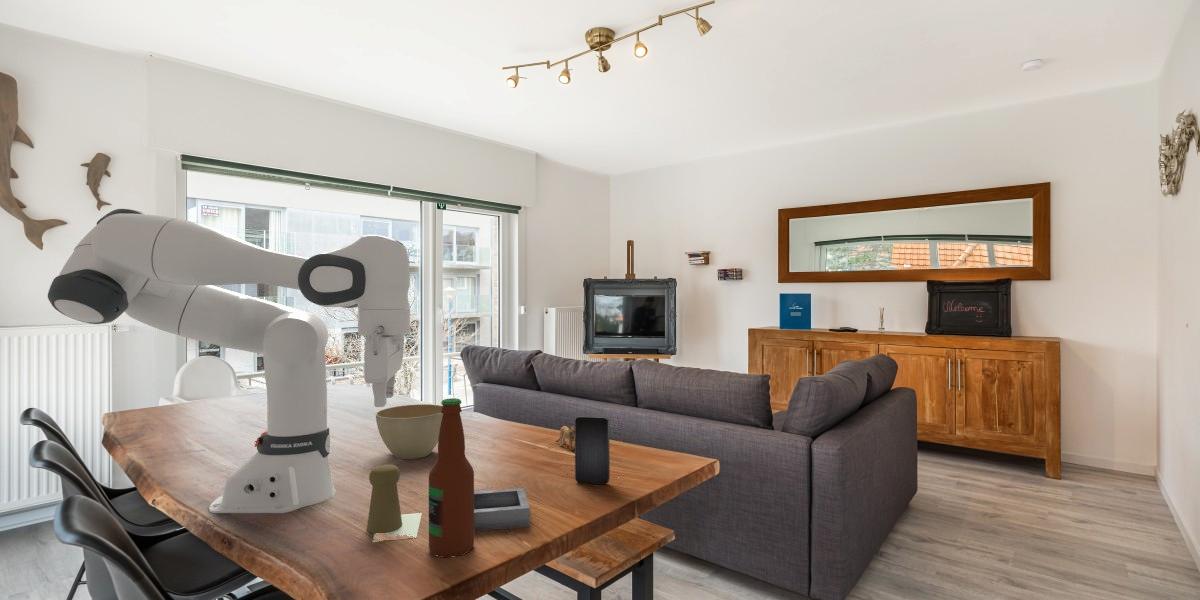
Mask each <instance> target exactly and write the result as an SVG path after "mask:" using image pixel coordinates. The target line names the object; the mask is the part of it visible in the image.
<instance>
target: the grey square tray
mask: <svg viewBox="0 0 1200 600" xmlns="http://www.w3.org/2000/svg"><path fill="white" fill-rule="evenodd" d="M530 511H531V510H530V505H529V501H528V497H527V494H526V490H525V488H524V487H518V488H517V487H515V488H505V489H504V488H503V489H492V490H491V489H489V490H477V491H474V532H479V531H490V530H491V531H492V530H505V529H506V530H507V529H515V528H530V525H531V524H530V523H531V522H530V521H531V517H530V515H531V514H530V513H531V512H530Z"/></svg>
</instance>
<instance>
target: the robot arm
mask: <svg viewBox="0 0 1200 600" xmlns="http://www.w3.org/2000/svg"><path fill="white" fill-rule="evenodd" d="M406 247H407V246H405V245H404V243H402V242H401V241H399V240H397V239H395V238H392V237H388V236H384V235H379V234H364V235H362V236H361V237H359V239H357V240H355V241H354V242H352V243H350V244H348V245H346V246H343V247H340V248H338V249H337V248H336V249H335V250H334V249H333V250H329V251H327V252H323V253H319V254H315V255H313V256H310V257H309V258H308V257H303V256H298V255H292V254H287V253H283V252H282V253H281V252H276V251H273V250H270V249H266V248H262V247H260V246H257V245H255V244H252V243H251V242H247V241H246V240H244V239H243V240H242V239H240V238H238V237H236V236H234V235H232V234H228V233H226V232H225V231H222V230H219V229H216V228H213V227H211V226H208V225H205V224H202V223H197V222H193V221H192V220H191V221H190V220H188V219H187V220H186V219H182V218H177V217H170V216H164V215H156V214H146V213H145V212H142V211H139V210H135V209H130V208H116V209H113V210H112V211H110V212H108V213H107V214H105V215H103V216H102V217H100V219H99V220H97V222H96V225H95V226H94V227H93V228H92V229H91V230H89V232H88V233H87V234H86V235H85V236H84V237H83V238H82V239H80V241H79V242H78V243H77V245H76V246H75V247H74V249H73V252H72V253H71V255H70V256H69V258H68V259H67V260H66V262H65V263H64V265H63V266H62V269H61V271H59V274H58V275H57V276H55V277H54V278H53V280H52V281H51V284H50V286H49V290H48V293H47V299H48V301H49V303H50V304H51V306H52V307H53V308H54V309H55V310H56V311H58V312H59V313H60V314H61V315H64V316H66V317H68V318H70V319H72V320H75V321H78V322H81V323H86V324H91V325H101V324H102V325H103V324H109V323H112V322H114V321H115V320H117V319H118V318H119V317H120V316H122V315H123V313H125V314H126V315H127V316H129V317H130V318H131V319H133V320H135V321H138V322H140V323H142V324H144V325H148V326H150V327H152V328H154V329H157V330H161V331H164V332H167V333H170V334H173V335H177V336H181V337H184V338H186V339H192V340H195V341H199V342H203V343H206V344H209V345H210V344H211V345H214V346H218V347H222V348H225V349H234V350H238V351H245V352H249V353H255V354H260V355H263V357H262V358H263V368H264V369H263V370H264V371H263V372H264V381H265V387H266V399H267V402H266V404H267V408H266V409H267V410H266V411H267V413H266V414H267V416H266V417H267V421H266V422H267V423H266V424H267V426H266V427H267V430H265V431H263V432H262V433H261V434H260V436H258V437H257V438H256V440H255V441H254V447H256V450H257V452H256V453H255V454H253V455H252V456H250V457H249V458H248V459H247V460H246V461H244V462H243V463H242V464H241V465H240V466H238V467H237V468H236V469H234V470H233V471H231V473H230V474H229V475H228V477H227V478H226V480H225V483H224V486H223V492H222V495H220V496H218V497H217V498H216V499H214V500H213V501H212V502H211V504H210V505H209V507H208V511H209V513H211V514H285V513H289V512H294V511H296V510H298V509H302V508H304V507H308V506H313V505H316V504H319V503H322V502H325V501H327V500H329V499H331V498H333V497H334V496H335V494H336V492H337V490H336V488H335V486H334V485H335V484H334V482H333V477H332V473H331V469H330V468H331V467H330V460H329V454H330V451H331V434H330V427H328V388H327V370H326V368H327V367H326V348H327V345H328V341H329V331H328V328H327V326H326V324H325V322H324V321H323V320H322V319H321V318H320V317H319V316H317V315H316V314H314V313H311V312H307V311H304V310H301V309H297V308H294V307H290V306H286V305H283V304H279V303H277V302H276V303H275V302H272V301H268V300H265V299H261V298H257V297H252V296H249V295H245V294H242V293H239V292H236V291H231V290H230V289H229V290H228V289H225V288H222V287H219V286H229V285H247V284H248V285H250V284H252V285H253V284H258V285H270V286H275V287H276V286H277V287H283V288H287V289H293V290H299V291H300V292H301V295H303V297H304V298H305V299H306V300H307V301H309V302H310V303H311V304H312V303H313V304H315V305H316V306H317V305H318V306H320V307H324V308H345V309H354V308H357V335H358V336H361V337H362V336H363V337H364V336H365V345H364V347H365V348H364V361H363V362H364V365H363V367H364V369H363V371H364V372H363V377H364V382H365V383H366V384H371V387H372V394H373V397H374V399H373V401H374V407H375V408H384V407H385V406H386V405H387V398H388V399H389V398H390V399H391V398H393V396H394V395H395V394H394V393H395V392H394V391H395V382H396V373H398V372H399V371H400V370H401V368H402V364H403V356H404V347H405V346H404V345H405V335H410V334H411V306H410V303H409V299H408V298H409V296H408V295H409V290H410V287H411V275H410V274H411V273H410V260H409V254H408V250H407V248H406Z"/></svg>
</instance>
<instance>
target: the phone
mask: <svg viewBox="0 0 1200 600" xmlns="http://www.w3.org/2000/svg"><path fill="white" fill-rule="evenodd" d="M574 425H575V441H574V444H575V448H574V480H575V481H576V482H577V483H578V484H590V485H603V486H604V485H607V484H608V483H609V481H610V475H611V473H610V471H611V470H610V458H611V457H610V419H609V418H608V417H606V416H594V415H593V416H591V415H589V416H588V415H586V416H585V415H579V416H577V417H576V418H575V419H574Z"/></svg>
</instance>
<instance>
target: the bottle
mask: <svg viewBox="0 0 1200 600" xmlns="http://www.w3.org/2000/svg"><path fill="white" fill-rule="evenodd" d="M440 403H441V406H443V407H442V410H441V413H443V417H442V420H441V425H440V432H439V438H438V443H437V458H436V460H435V462H434V464H433V465H432V466H431V468H430V469H429V473H428V549H429V551H430V553H431V555H433V554H434V556H435V555H438V556H443V557H442V558H452V557H451V556H456V557H459V556H458V555H460V556H463V555H465V554H467V553H468V551H469V552H470V551H471V550H472V549H473V547H474V545H475V531H474V492H475V470H474V467H473V466H472V464H471V463H470V462H469V460H468V458H467V457H466V454H465V453H466V450H465V449H466V443H465V432H464V426H463V421H462V416H461V412H462V411H463V410H462V407H461V404H462V400H461V399H460V398H454V397H453V398H452V397H451V398H450V397H449V398H445V399H443V400H442V401H441V402H440ZM466 552H467V553H466ZM464 553H465V554H464ZM462 554H463V555H462ZM438 556H437V557H438Z"/></svg>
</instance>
